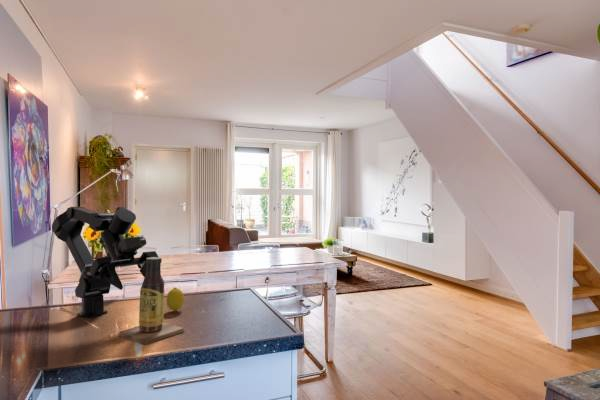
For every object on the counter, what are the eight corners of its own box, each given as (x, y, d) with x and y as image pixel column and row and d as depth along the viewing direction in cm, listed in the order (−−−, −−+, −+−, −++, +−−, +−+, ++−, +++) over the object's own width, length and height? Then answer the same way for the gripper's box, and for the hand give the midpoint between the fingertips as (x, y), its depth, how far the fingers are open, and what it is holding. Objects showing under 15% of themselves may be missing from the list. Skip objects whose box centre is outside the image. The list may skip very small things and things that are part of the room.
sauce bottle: (133, 332, 101) (134, 258, 101) (148, 325, 107) (149, 255, 108) (154, 334, 99) (155, 259, 100) (168, 327, 106) (169, 256, 106)
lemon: (178, 314, 121) (178, 289, 122) (163, 313, 123) (163, 288, 123) (186, 309, 127) (187, 286, 127) (172, 308, 128) (172, 285, 128)
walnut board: (119, 335, 102) (119, 331, 102) (158, 323, 112) (158, 320, 112) (145, 344, 95) (145, 340, 95) (184, 331, 105) (184, 328, 105)
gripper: (95, 228, 103) (116, 273, 97) (155, 225, 119) (177, 263, 112) (80, 254, 108) (100, 299, 101) (140, 248, 123) (160, 286, 117)
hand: (137, 285), depth 108 cm, fingers open, 9 cm apart
